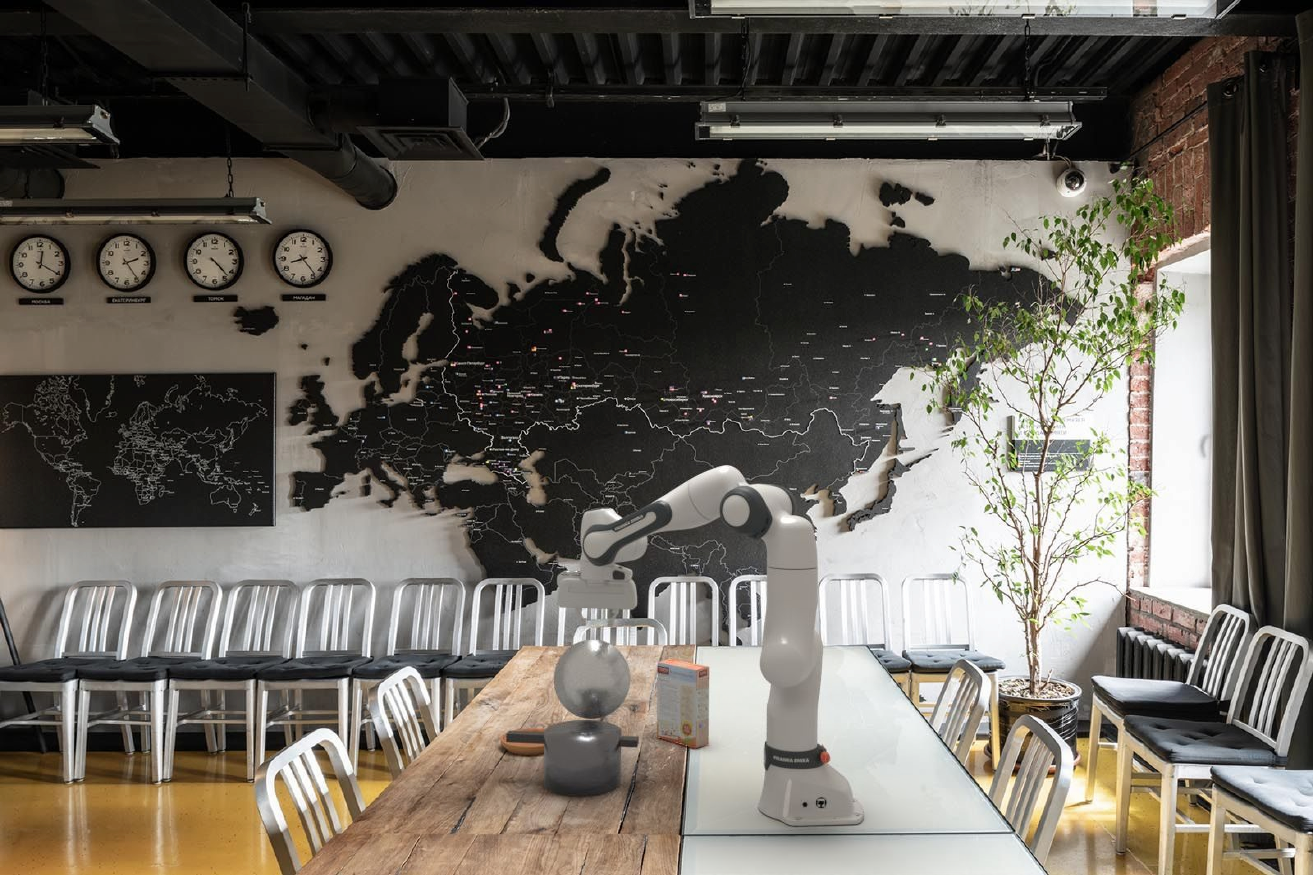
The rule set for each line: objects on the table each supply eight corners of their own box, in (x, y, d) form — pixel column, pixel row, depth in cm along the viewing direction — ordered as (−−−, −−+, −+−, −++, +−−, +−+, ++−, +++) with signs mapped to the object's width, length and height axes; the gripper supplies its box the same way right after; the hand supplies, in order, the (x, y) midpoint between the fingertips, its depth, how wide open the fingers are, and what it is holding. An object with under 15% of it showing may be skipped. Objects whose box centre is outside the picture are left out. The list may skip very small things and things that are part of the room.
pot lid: (628, 720, 227) (630, 719, 230) (631, 640, 230) (632, 640, 233) (551, 717, 228) (554, 716, 232) (555, 638, 232) (558, 638, 235)
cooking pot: (642, 772, 226) (642, 722, 226) (632, 799, 208) (633, 745, 208) (516, 766, 229) (517, 717, 229) (496, 792, 211) (497, 739, 211)
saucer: (536, 734, 255) (537, 723, 255) (574, 748, 243) (574, 737, 244) (487, 747, 244) (488, 735, 244) (524, 762, 232) (524, 750, 232)
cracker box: (709, 745, 247) (710, 665, 247) (695, 750, 243) (695, 669, 243) (670, 733, 257) (671, 657, 257) (655, 738, 252) (656, 660, 252)
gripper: (554, 572, 234) (554, 627, 234) (635, 574, 232) (634, 629, 232) (559, 568, 241) (559, 622, 240) (638, 570, 239) (637, 624, 238)
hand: (596, 626), depth 236 cm, fingers open, 6 cm apart
